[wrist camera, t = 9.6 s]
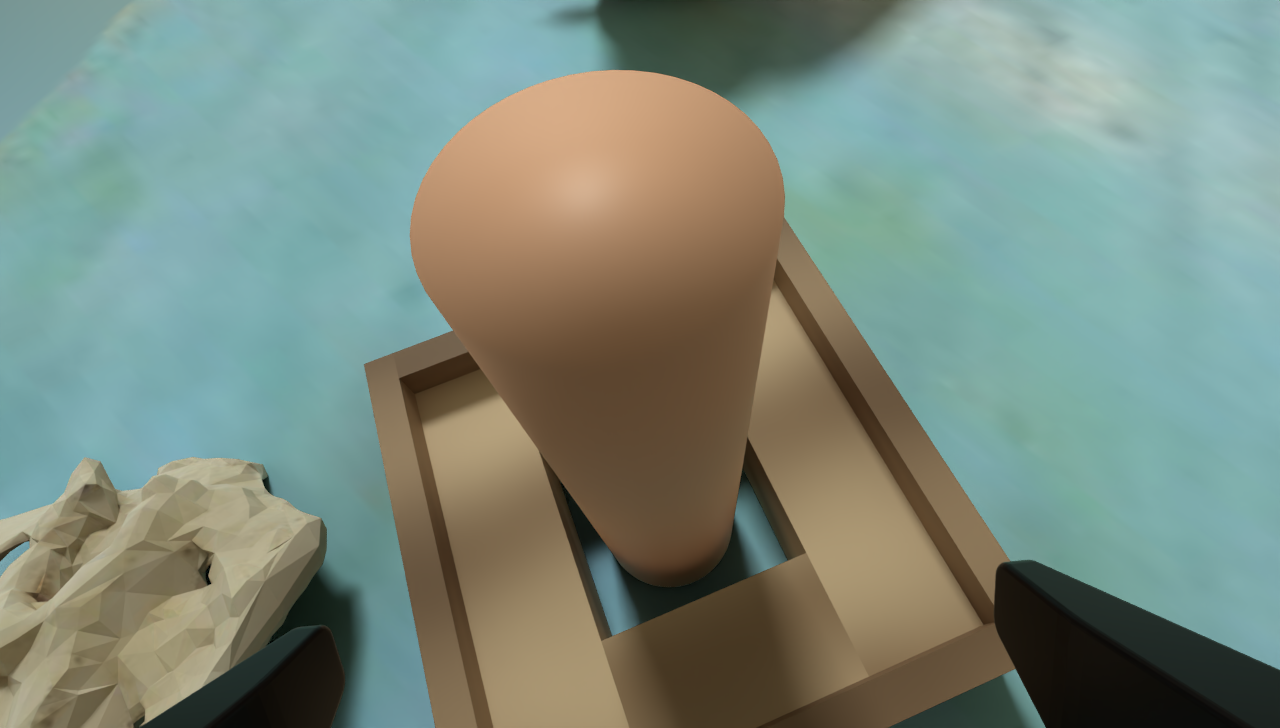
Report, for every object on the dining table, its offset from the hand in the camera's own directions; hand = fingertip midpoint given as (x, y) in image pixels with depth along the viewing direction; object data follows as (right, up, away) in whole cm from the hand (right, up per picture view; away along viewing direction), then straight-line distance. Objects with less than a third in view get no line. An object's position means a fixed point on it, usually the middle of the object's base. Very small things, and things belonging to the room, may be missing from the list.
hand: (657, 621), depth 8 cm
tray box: (+1, -1, +9) cm, 9 cm away
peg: (+1, -1, +9) cm, 9 cm away
